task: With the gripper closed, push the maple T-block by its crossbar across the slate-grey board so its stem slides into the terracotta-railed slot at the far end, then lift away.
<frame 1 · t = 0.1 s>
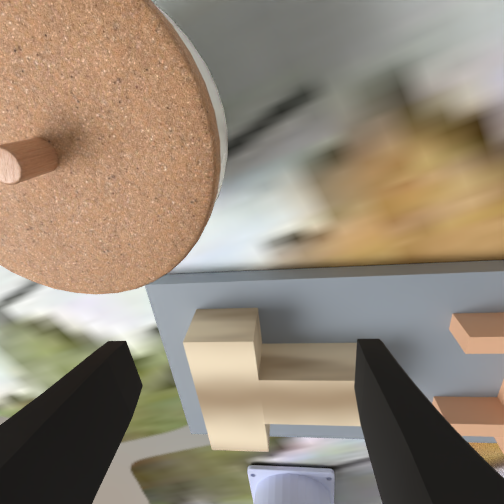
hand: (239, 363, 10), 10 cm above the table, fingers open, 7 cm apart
lidded jar: (146, 127, 17), on the table
board: (350, 357, 22), on the table
t block: (236, 365, 22), point 1 cm above the table, touching board
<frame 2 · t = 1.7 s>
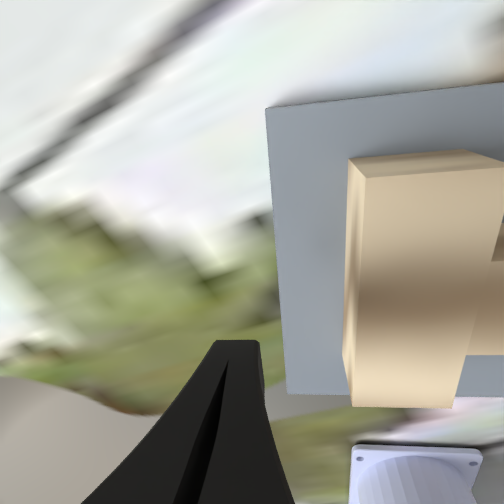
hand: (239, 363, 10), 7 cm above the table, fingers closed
t block: (391, 270, 14), point 1 cm above the table, touching board
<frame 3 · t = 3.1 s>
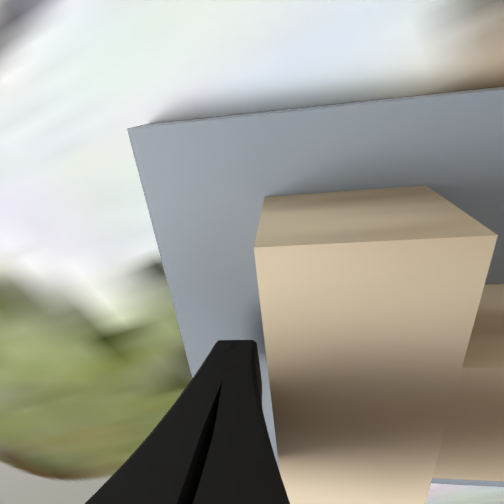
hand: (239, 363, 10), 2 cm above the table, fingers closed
t block: (338, 340, 10), point 1 cm above the table, touching board, gripper
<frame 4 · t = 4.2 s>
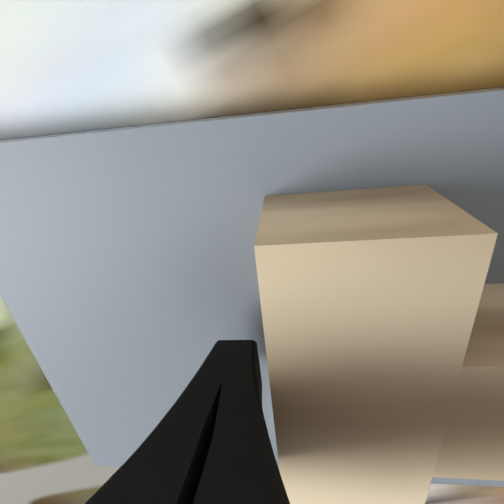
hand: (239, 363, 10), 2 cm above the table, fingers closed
board: (377, 327, 11), on the table
t block: (338, 339, 10), point 1 cm above the table, touching board, gripper
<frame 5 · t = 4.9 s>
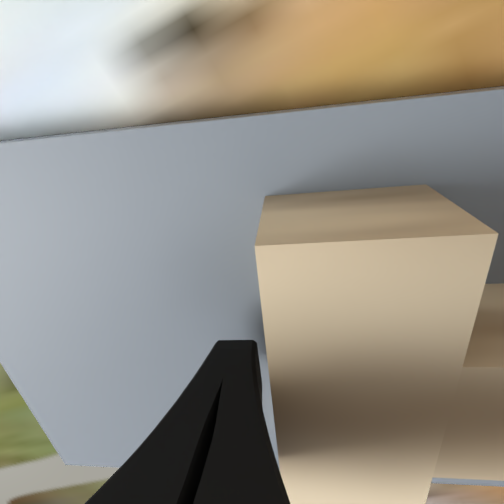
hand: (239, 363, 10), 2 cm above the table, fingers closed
board: (329, 327, 12), on the table
t block: (339, 339, 10), point 1 cm above the table, touching board, gripper
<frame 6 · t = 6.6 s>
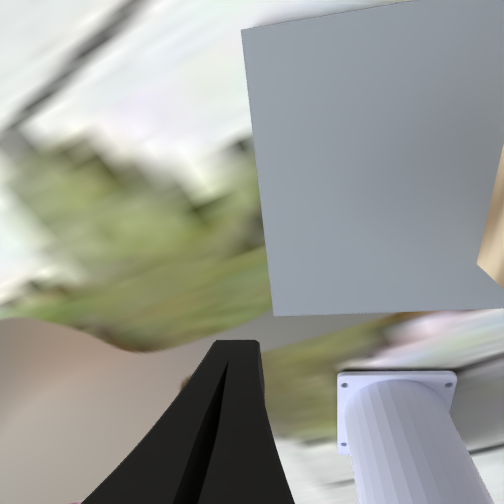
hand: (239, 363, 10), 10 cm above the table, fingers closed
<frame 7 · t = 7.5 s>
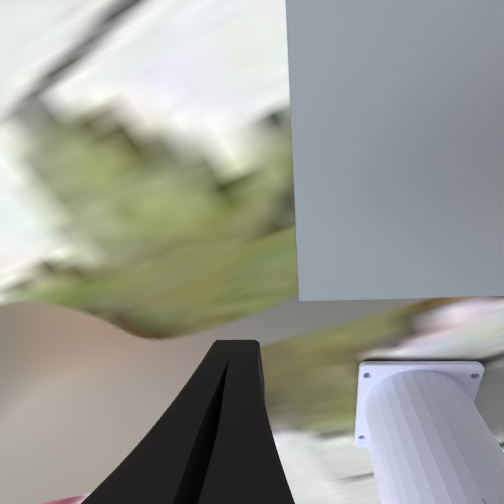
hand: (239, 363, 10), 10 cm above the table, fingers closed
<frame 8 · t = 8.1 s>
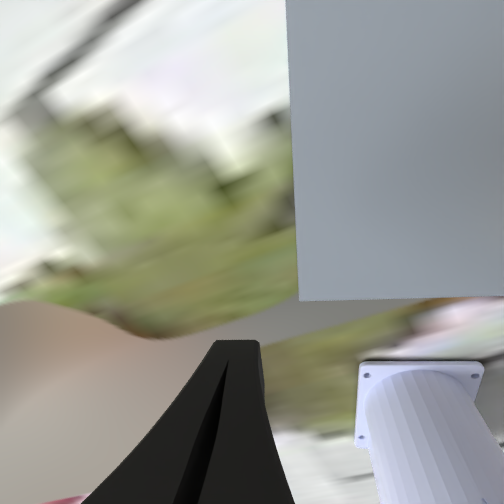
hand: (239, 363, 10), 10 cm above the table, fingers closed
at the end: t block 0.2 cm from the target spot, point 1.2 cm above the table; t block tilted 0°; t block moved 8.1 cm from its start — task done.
